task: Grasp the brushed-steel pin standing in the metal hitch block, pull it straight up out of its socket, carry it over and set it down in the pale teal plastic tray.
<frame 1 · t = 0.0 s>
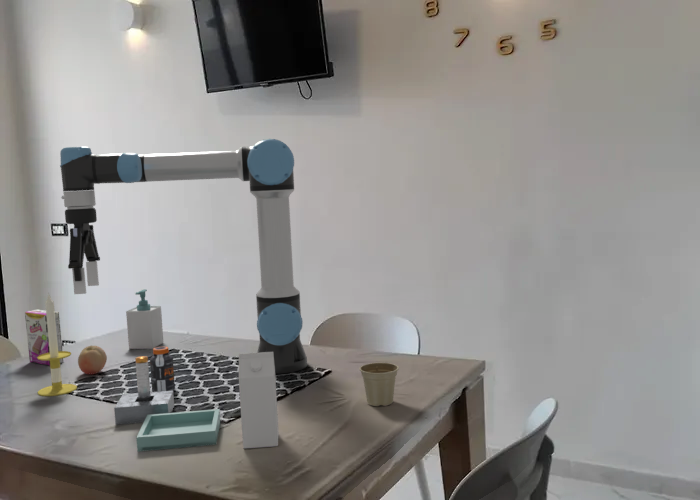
hand: (87, 289, 183), 28 cm above the table, fingers open, 13 cm apart
hitch block: (145, 415, 167), on the table
flower pot: (380, 403, 169), on the table
fruit: (93, 373, 207), on the table
tray: (181, 435, 152), on the table
soap bottle: (146, 346, 238), on the table
candy bar box: (46, 363, 222), on the table
pill bottle: (163, 390, 188), on the table
milk carton: (261, 442, 147), on the table
candle: (57, 391, 191), on the table
pin: (143, 386, 166), in the hitch block
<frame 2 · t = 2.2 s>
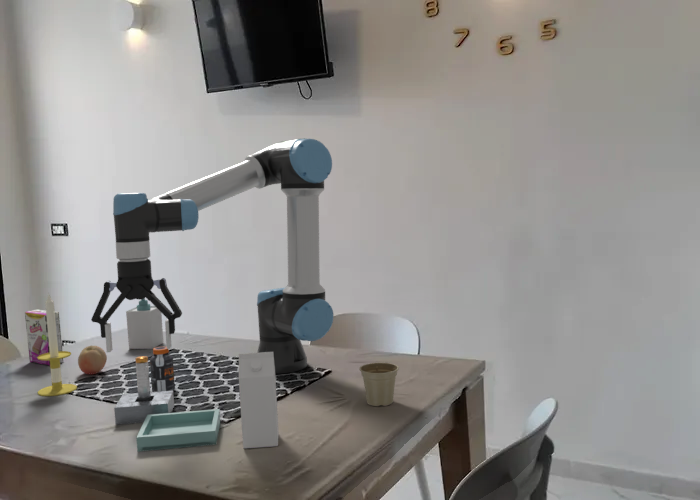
hand: (139, 349, 165), 16 cm above the table, fingers open, 13 cm apart
nothing on the table moved.
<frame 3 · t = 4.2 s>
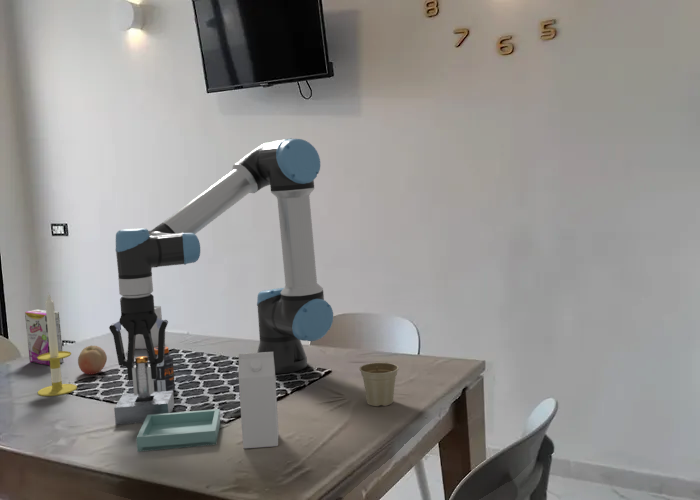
hand: (144, 392, 166), 6 cm above the table, fingers closed on pin, 3 cm apart
pin: (143, 386, 166), in the hitch block, touching gripper
everything else where it was.
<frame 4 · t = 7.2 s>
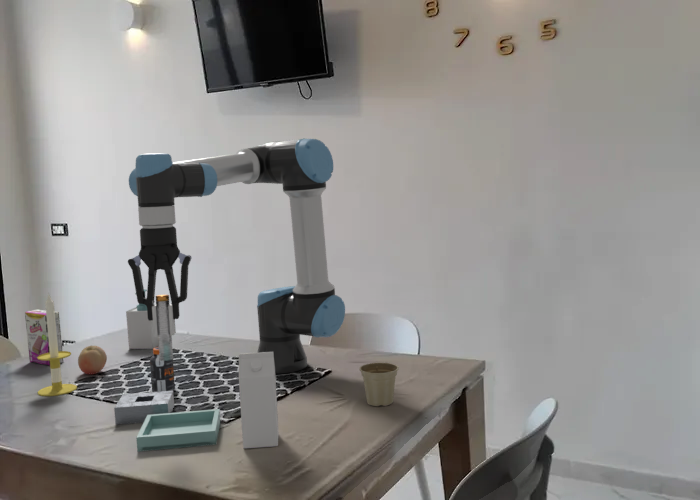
hand: (164, 334, 153), 22 cm above the table, fingers closed on pin, 3 cm apart
pin: (164, 327, 152), point 24 cm above the table, touching gripper
everything else where it was.
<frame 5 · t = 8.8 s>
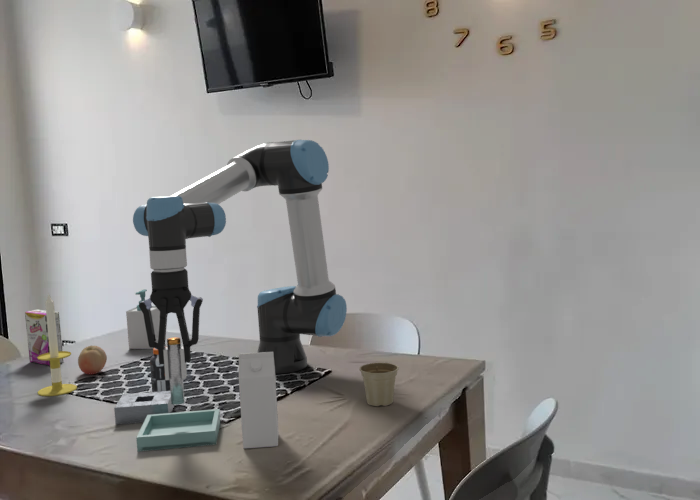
hand: (176, 377, 151), 13 cm above the table, fingers closed on pin, 3 cm apart
pin: (175, 370, 151), point 14 cm above the table, touching gripper
everything else where it was.
when the fingers open (7 cm above the table, at t = 10.2 s): pin drops 1 cm, resting on tray.
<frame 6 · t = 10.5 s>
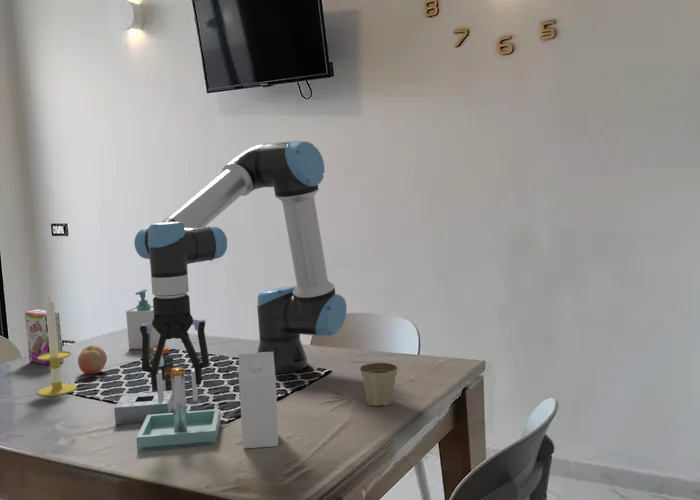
hand: (178, 400, 152), 8 cm above the table, fingers open, 7 cm apart
pin: (179, 400, 152), in the tray, point 8 cm above the table
everything else where it was.
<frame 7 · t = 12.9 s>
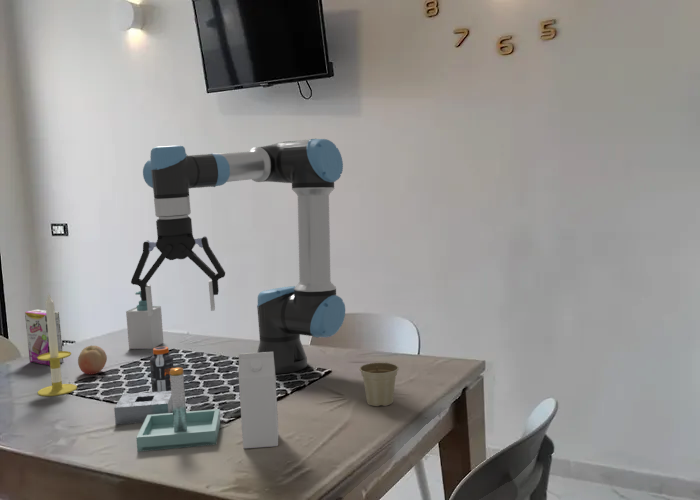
hand: (182, 312, 157), 26 cm above the table, fingers open, 13 cm apart
nothing on the table moved.
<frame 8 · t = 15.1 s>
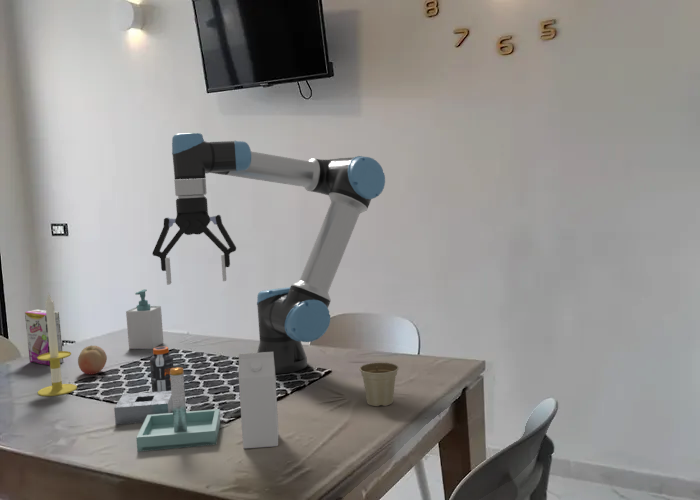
hand: (197, 282, 175), 30 cm above the table, fingers open, 13 cm apart
nothing on the table moved.
at the end: pin inside the target area on the tray (0.0 cm from its centre), point 7.8 cm above the tray's base; pin moved 18.9 cm from its start; the gripper is holding nothing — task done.
